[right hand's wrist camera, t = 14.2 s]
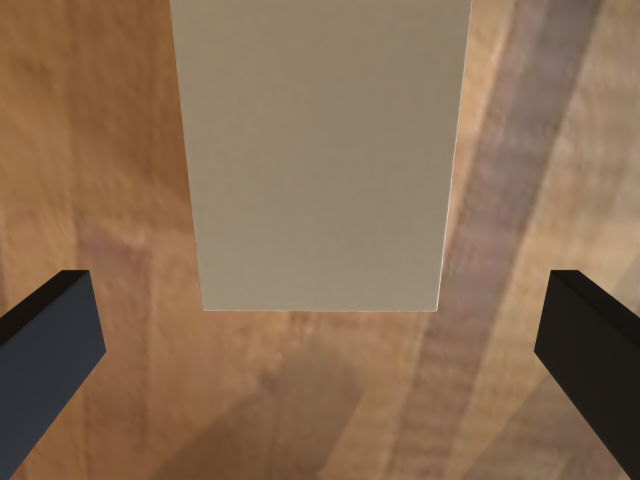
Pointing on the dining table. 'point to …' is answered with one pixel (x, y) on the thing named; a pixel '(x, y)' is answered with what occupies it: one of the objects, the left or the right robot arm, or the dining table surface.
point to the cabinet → (320, 148)
